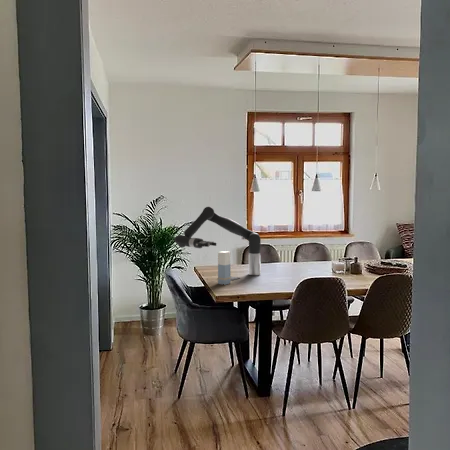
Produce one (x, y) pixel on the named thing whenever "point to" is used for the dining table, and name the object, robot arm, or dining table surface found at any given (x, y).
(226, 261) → the lid
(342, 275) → the dining table surface
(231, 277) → the mat
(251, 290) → the dining table surface
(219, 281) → the grey piece
